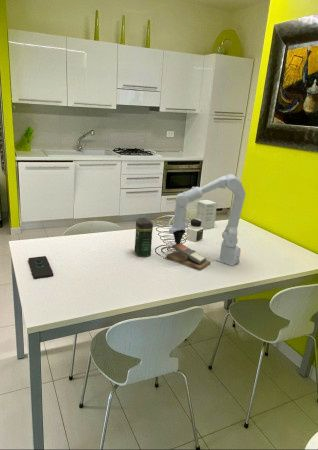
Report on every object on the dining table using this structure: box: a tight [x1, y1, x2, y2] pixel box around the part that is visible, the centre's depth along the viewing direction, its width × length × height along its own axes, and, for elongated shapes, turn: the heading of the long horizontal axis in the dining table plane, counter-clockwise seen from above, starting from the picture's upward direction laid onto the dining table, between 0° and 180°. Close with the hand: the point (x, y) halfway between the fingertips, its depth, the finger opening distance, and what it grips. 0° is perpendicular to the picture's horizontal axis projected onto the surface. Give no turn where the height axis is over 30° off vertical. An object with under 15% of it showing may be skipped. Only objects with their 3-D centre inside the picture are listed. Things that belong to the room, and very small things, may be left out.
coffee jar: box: [134, 217, 154, 258], centre depth 174 cm, size 10×8×19 cm
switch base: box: [165, 249, 211, 271], centre depth 171 cm, size 20×10×5 cm, turn 53°
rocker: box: [171, 242, 207, 264], centre depth 170 cm, size 17×6×2 cm, turn 53°
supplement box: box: [195, 199, 218, 230], centre depth 222 cm, size 10×9×17 cm
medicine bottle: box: [186, 218, 204, 243], centre depth 200 cm, size 7×7×12 cm
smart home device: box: [27, 255, 54, 280], centre depth 154 cm, size 8×2×20 cm
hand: (177, 243), depth 173 cm, fingers closed
